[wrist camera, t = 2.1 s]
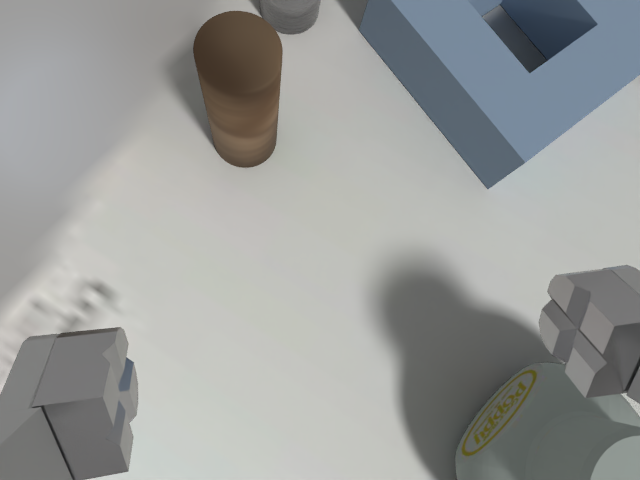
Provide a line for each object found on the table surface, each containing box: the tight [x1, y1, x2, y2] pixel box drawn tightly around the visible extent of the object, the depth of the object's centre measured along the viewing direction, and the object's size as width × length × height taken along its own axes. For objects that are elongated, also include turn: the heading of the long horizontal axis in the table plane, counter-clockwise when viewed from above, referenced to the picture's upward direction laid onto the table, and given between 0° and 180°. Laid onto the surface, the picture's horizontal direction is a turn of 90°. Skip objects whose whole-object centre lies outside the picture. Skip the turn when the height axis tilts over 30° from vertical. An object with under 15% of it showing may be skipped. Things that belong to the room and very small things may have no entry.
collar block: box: [359, 0, 640, 189], centre depth 34 cm, size 14×14×5 cm
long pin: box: [193, 11, 282, 168], centre depth 28 cm, size 4×4×10 cm
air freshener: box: [455, 363, 640, 480], centre depth 26 cm, size 11×8×10 cm
